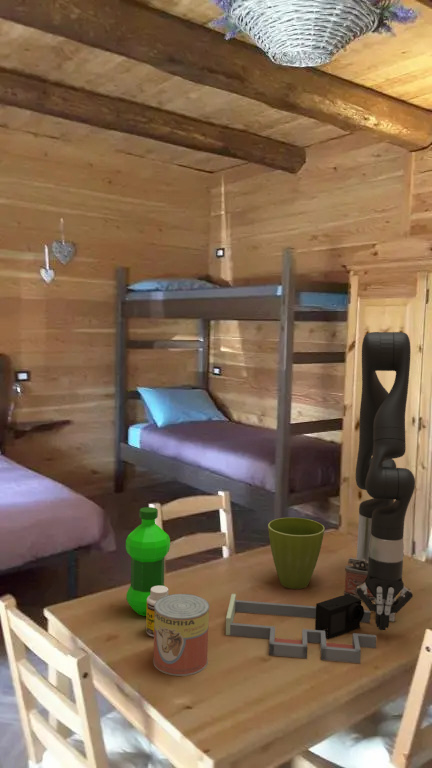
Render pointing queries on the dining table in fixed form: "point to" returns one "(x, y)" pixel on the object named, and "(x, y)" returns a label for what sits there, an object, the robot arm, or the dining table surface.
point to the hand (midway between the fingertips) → (381, 628)
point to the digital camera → (339, 615)
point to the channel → (313, 636)
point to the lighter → (356, 577)
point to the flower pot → (295, 549)
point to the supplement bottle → (155, 595)
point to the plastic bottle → (146, 559)
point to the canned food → (181, 634)
